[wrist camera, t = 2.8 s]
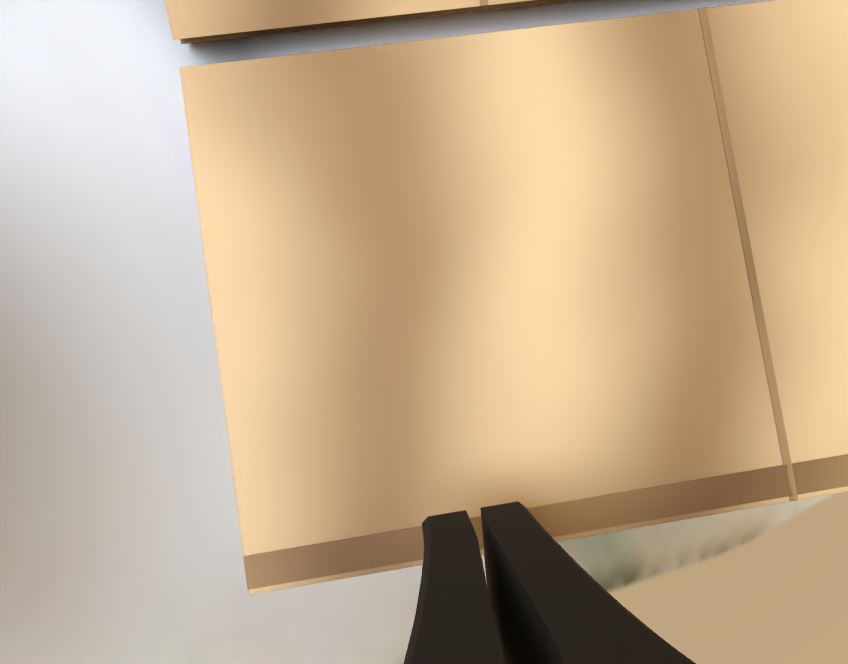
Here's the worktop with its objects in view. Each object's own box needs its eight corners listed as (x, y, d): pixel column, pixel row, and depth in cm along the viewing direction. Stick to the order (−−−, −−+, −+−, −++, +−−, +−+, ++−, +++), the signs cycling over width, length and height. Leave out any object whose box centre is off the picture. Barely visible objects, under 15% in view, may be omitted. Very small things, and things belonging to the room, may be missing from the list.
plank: (259, 578, 14) (248, 595, 13) (194, 92, 15) (179, 66, 14) (1085, 436, 16) (1145, 439, 15) (990, 0, 17) (1039, -31, 15)
